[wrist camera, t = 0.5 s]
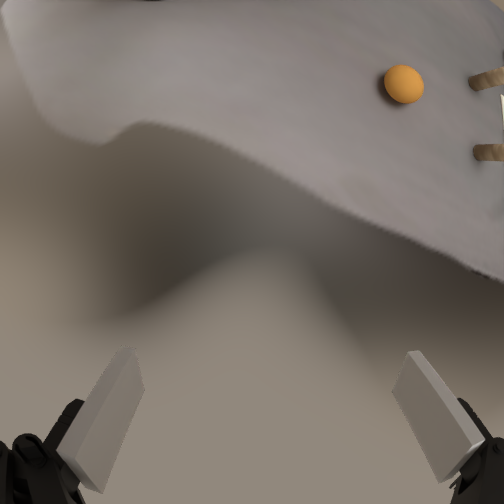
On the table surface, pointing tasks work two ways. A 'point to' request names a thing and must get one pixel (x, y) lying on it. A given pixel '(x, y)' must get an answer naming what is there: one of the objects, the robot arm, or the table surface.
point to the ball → (403, 84)
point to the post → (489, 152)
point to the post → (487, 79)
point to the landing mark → (503, 103)
